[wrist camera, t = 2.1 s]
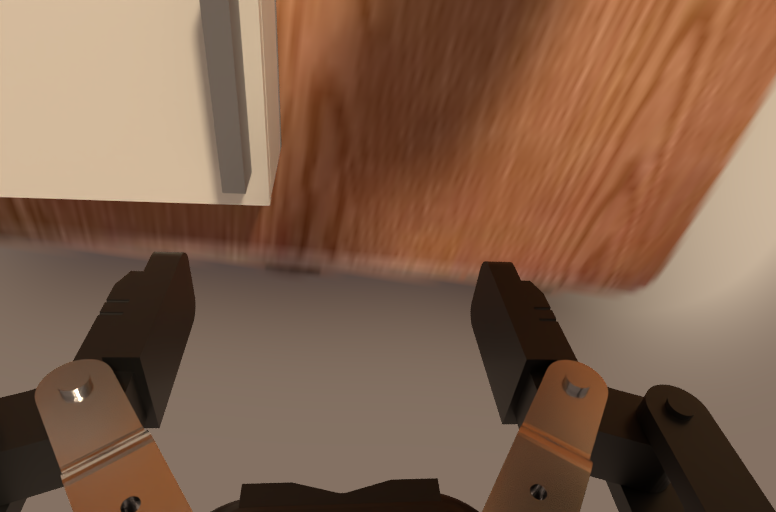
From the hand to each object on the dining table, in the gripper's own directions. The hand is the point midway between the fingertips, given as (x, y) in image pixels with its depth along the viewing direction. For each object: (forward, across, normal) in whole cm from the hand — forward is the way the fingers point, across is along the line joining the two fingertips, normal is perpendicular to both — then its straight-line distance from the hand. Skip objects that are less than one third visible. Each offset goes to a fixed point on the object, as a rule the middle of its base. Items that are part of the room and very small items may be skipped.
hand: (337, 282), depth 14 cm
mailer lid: (+17, +14, 0) cm, 22 cm away
